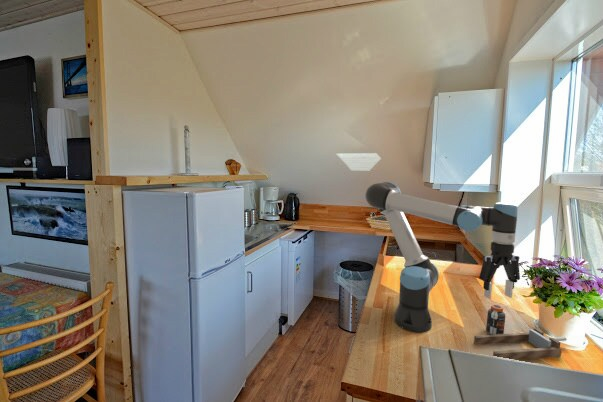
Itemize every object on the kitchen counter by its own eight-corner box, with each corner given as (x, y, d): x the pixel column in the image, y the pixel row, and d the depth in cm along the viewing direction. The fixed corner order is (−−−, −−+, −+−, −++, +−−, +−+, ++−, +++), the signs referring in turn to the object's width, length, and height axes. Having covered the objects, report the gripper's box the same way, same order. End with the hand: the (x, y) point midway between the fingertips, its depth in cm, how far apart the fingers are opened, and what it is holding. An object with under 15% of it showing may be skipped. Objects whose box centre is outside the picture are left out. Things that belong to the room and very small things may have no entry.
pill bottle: (497, 338, 111) (500, 311, 109) (482, 330, 116) (484, 304, 115) (507, 334, 113) (509, 308, 112) (492, 327, 118) (494, 301, 117)
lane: (495, 361, 97) (496, 348, 96) (473, 343, 107) (474, 331, 107) (560, 356, 100) (562, 343, 99) (533, 339, 110) (534, 327, 109)
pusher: (546, 354, 101) (548, 341, 100) (528, 341, 108) (529, 329, 107) (574, 352, 102) (576, 339, 101) (554, 339, 109) (555, 327, 109)
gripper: (485, 245, 105) (480, 302, 108) (535, 243, 107) (530, 299, 110) (470, 240, 113) (466, 293, 115) (518, 239, 115) (513, 291, 117)
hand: (497, 296), depth 113 cm, fingers open, 8 cm apart
